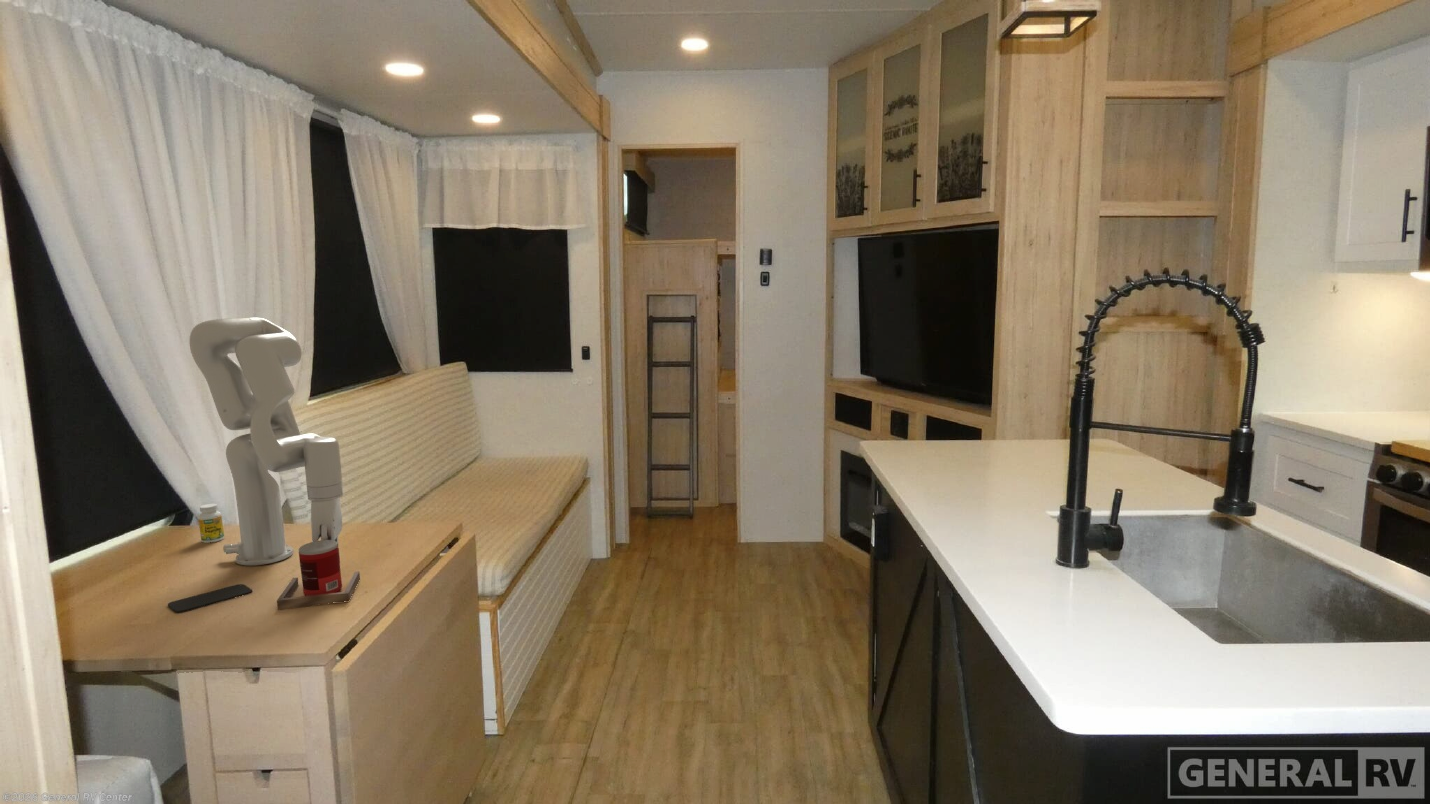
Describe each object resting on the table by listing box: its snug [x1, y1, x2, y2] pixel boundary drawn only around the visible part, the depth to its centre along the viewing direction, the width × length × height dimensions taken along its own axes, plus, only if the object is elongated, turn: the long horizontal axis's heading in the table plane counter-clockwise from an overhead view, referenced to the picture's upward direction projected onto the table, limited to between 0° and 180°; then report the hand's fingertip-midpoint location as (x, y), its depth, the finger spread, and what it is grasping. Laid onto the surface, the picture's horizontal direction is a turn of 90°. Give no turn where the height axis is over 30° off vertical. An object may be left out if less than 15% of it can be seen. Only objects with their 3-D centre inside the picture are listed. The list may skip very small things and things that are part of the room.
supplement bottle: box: [197, 503, 225, 544], centre depth 219 cm, size 5×5×10 cm
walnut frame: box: [276, 571, 361, 611], centre depth 180 cm, size 14×14×2 cm
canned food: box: [298, 539, 343, 596], centre depth 180 cm, size 8×8×11 cm
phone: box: [167, 583, 253, 614], centre depth 179 cm, size 7×1×15 cm
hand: (332, 565), depth 193 cm, fingers closed
